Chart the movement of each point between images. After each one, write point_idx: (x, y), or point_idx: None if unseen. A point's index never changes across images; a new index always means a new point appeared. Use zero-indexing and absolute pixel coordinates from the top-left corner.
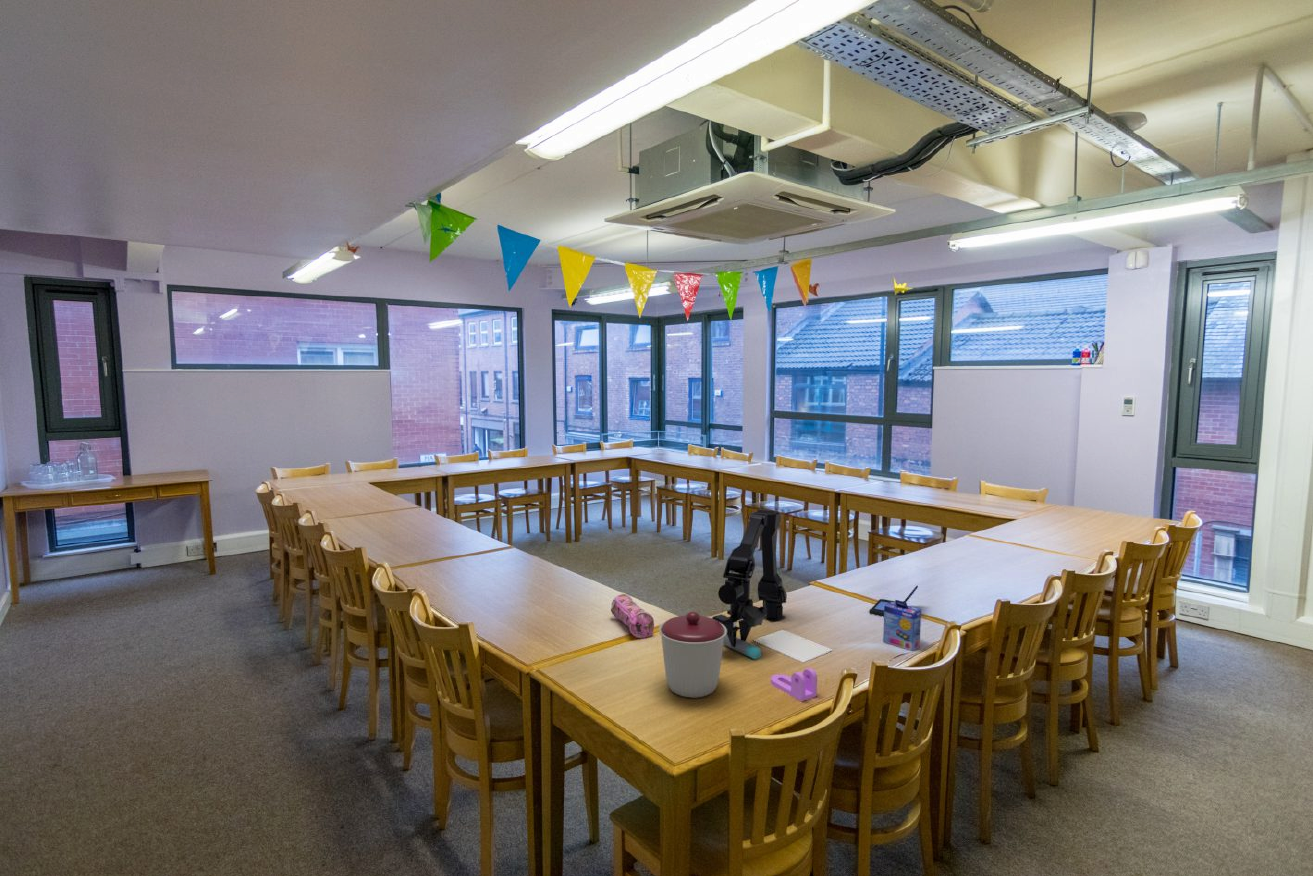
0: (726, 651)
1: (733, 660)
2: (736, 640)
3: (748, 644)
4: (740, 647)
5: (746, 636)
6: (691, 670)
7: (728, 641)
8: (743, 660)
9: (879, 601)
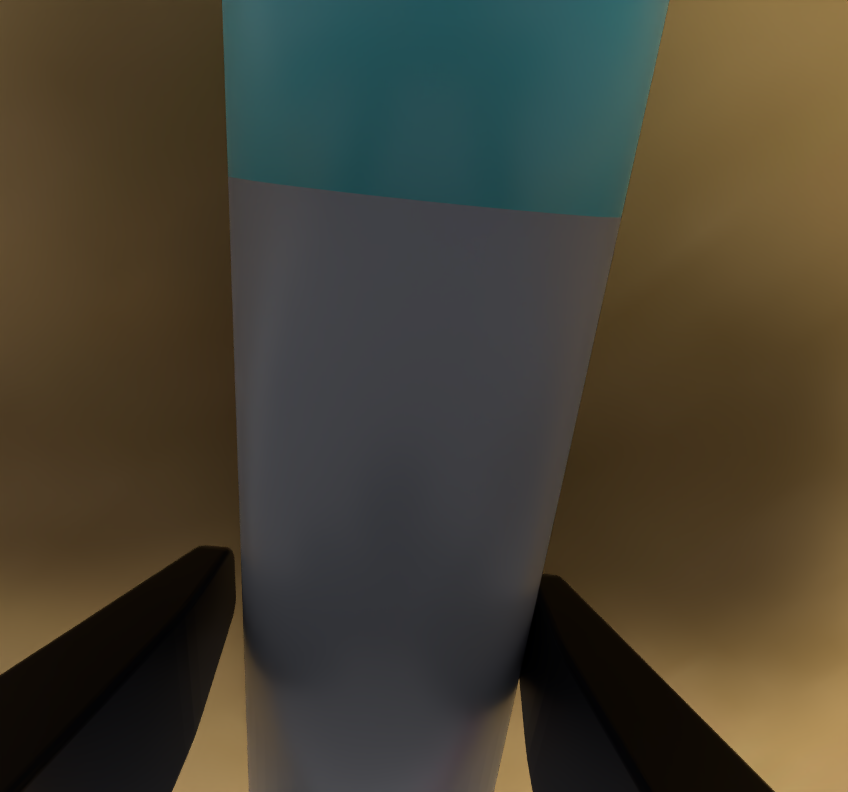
0: None
1: (845, 294)
2: (465, 706)
3: (481, 241)
4: (572, 436)
5: (65, 687)
6: None
7: (495, 780)
8: (722, 133)
9: None
